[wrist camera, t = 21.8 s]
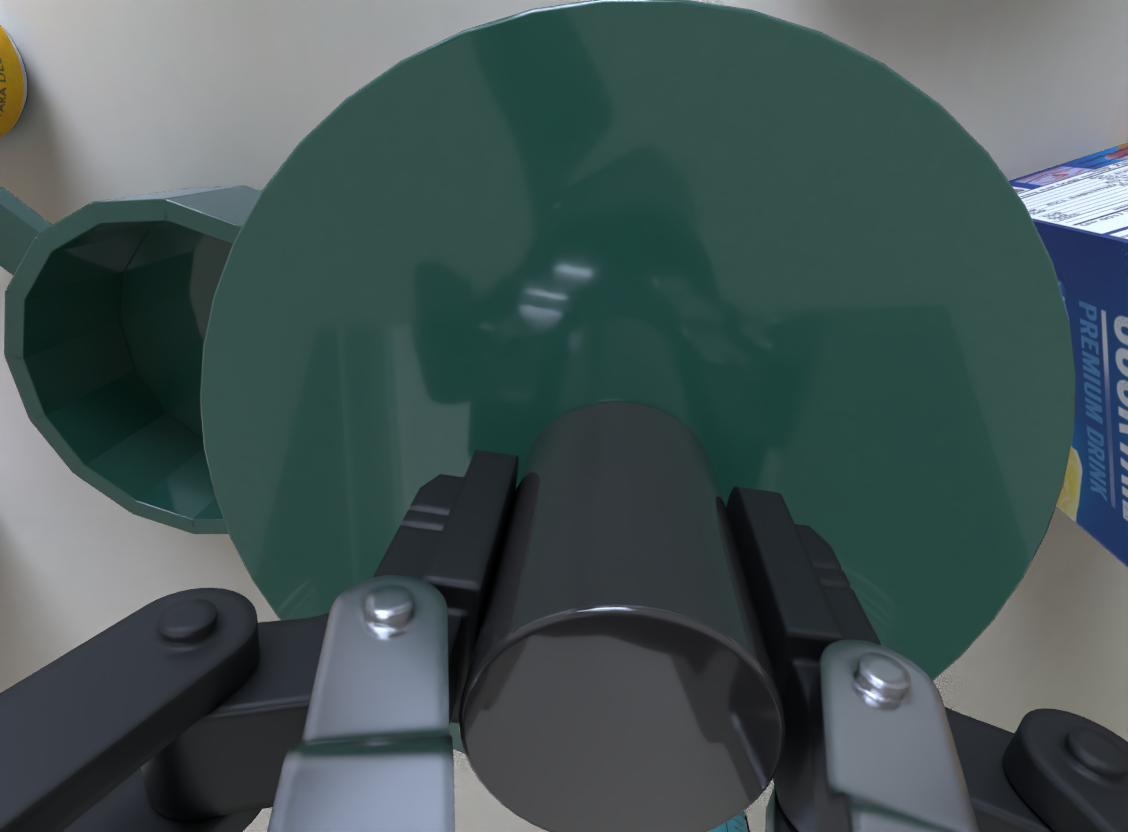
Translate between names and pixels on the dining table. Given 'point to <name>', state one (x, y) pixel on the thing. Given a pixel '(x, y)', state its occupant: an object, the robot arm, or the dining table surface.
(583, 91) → the pot lid
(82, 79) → the dining table surface
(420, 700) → the robot arm
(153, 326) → the pot
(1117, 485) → the juice carton
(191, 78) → the dining table surface
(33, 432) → the dining table surface
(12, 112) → the beer can
